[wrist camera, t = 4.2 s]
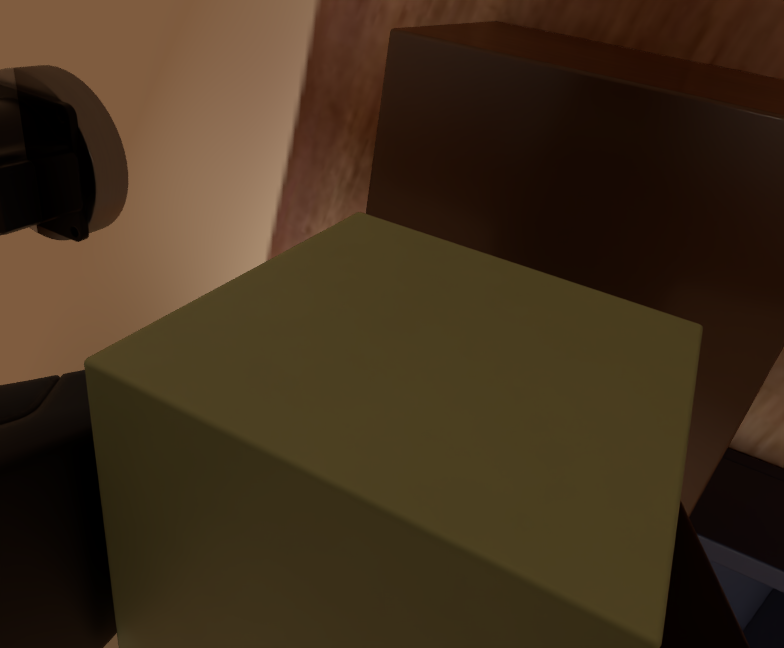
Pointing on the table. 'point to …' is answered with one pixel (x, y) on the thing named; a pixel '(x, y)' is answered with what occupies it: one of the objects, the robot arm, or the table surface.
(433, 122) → the stand
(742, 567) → the navy bin
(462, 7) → the table surface
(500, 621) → the sage block
